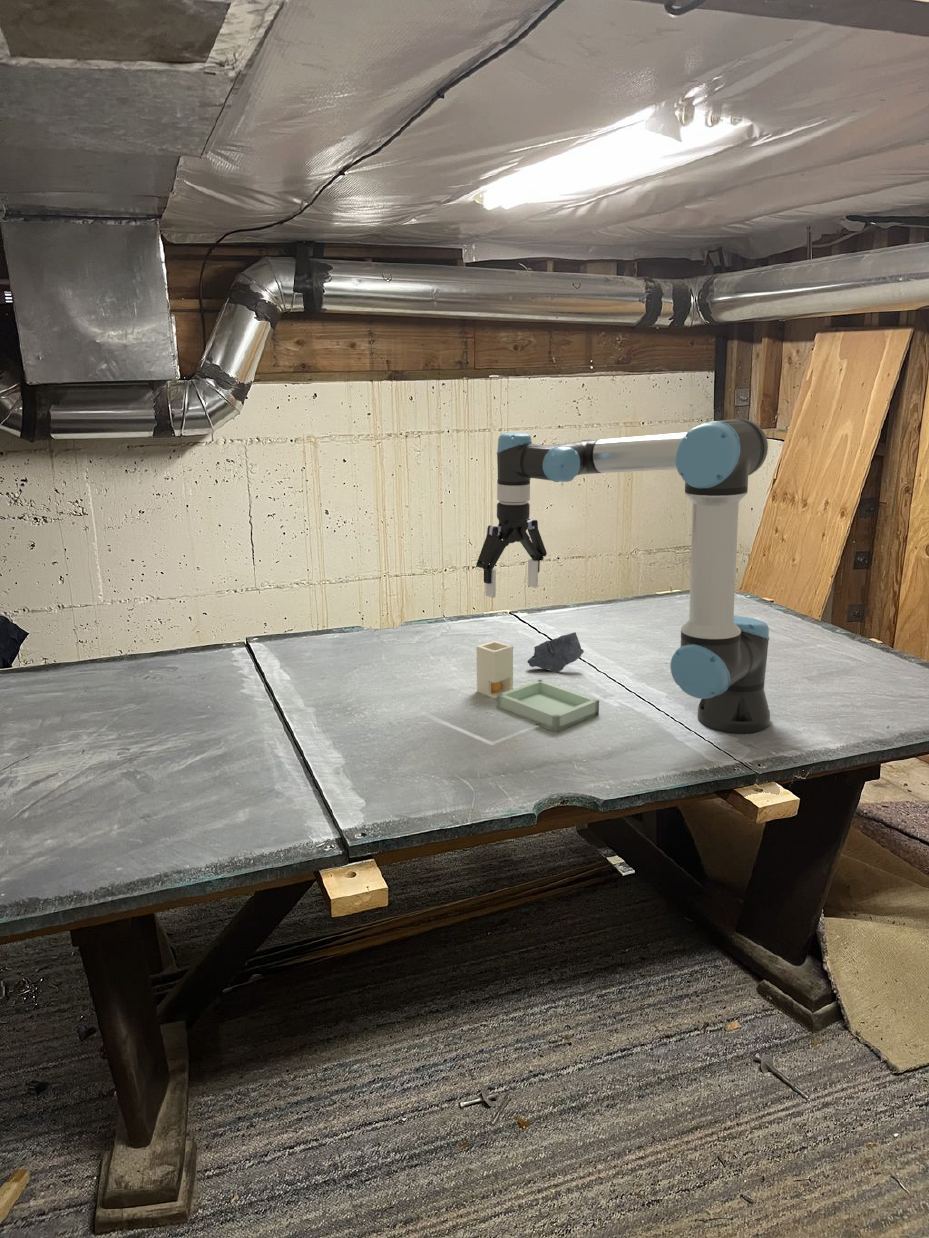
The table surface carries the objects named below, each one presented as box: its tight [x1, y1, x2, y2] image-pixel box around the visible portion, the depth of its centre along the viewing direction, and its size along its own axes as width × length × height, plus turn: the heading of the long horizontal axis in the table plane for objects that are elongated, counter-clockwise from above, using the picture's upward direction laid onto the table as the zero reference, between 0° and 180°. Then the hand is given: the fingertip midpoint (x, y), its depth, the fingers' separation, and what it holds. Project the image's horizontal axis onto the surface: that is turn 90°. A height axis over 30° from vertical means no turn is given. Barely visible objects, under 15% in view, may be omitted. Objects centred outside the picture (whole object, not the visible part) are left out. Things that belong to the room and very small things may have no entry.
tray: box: [496, 679, 600, 733], centre depth 201 cm, size 18×14×4 cm
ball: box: [491, 681, 501, 692], centre depth 212 cm, size 3×3×3 cm
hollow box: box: [476, 640, 514, 699], centre depth 211 cm, size 6×6×12 cm
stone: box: [527, 632, 585, 674], centre depth 226 cm, size 14×6×10 cm, turn 113°
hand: (511, 591), depth 211 cm, fingers open, 13 cm apart
